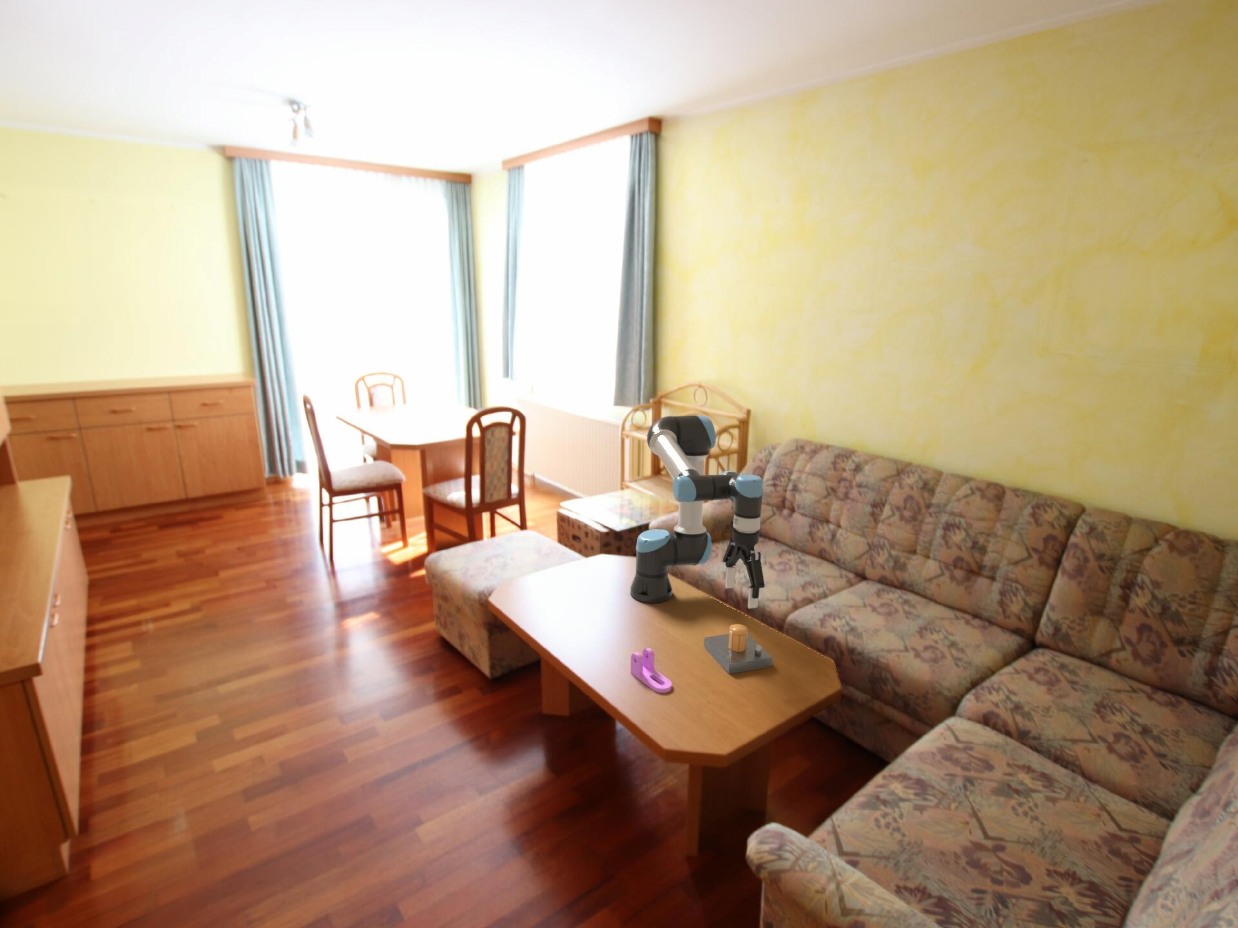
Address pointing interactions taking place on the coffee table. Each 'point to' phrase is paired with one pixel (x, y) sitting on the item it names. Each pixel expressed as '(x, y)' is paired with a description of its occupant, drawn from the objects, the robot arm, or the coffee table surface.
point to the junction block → (737, 654)
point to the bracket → (649, 671)
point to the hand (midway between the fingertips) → (740, 597)
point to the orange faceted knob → (738, 637)
